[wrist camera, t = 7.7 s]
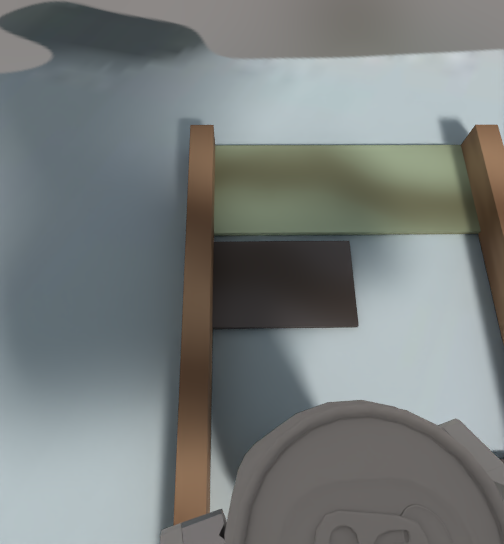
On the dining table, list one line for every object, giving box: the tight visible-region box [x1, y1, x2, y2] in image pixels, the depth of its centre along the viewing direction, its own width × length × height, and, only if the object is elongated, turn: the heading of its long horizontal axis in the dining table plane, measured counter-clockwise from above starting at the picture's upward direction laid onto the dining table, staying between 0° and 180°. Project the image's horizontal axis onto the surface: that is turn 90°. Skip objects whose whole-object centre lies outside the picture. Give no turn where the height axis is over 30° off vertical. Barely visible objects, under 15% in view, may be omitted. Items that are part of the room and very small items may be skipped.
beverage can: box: [224, 400, 504, 544], centre depth 12 cm, size 5×5×12 cm
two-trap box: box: [174, 125, 504, 525], centre depth 19 cm, size 27×16×2 cm, turn 1°
